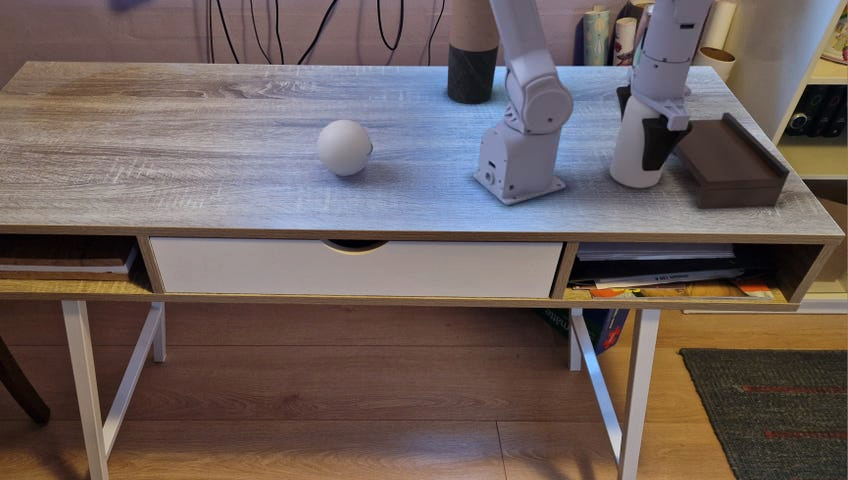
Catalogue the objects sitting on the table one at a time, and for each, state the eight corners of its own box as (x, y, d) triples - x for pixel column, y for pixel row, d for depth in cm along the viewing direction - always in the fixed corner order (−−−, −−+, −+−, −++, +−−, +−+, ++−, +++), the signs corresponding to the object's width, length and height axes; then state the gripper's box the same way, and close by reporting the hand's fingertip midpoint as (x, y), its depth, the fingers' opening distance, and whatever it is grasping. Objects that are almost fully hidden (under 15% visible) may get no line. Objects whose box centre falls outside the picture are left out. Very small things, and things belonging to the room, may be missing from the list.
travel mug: (487, 107, 110) (502, -25, 98) (440, 101, 112) (449, -30, 100) (496, 88, 116) (512, -40, 103) (451, 82, 118) (461, -45, 105)
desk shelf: (698, 208, 88) (710, 174, 85) (649, 146, 101) (658, 114, 98) (775, 205, 89) (790, 171, 86) (717, 144, 101) (728, 112, 98)
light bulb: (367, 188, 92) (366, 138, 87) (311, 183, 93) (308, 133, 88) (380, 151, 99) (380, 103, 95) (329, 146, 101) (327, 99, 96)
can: (639, 161, 97) (663, 79, 90) (669, 185, 93) (696, 100, 85) (599, 169, 96) (619, 85, 88) (627, 193, 91) (651, 108, 83)
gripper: (728, 77, 78) (693, 182, 87) (675, 30, 89) (648, 127, 98) (666, 79, 78) (637, 185, 86) (620, 32, 89) (599, 129, 97)
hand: (639, 154), depth 92 cm, fingers open, 7 cm apart
